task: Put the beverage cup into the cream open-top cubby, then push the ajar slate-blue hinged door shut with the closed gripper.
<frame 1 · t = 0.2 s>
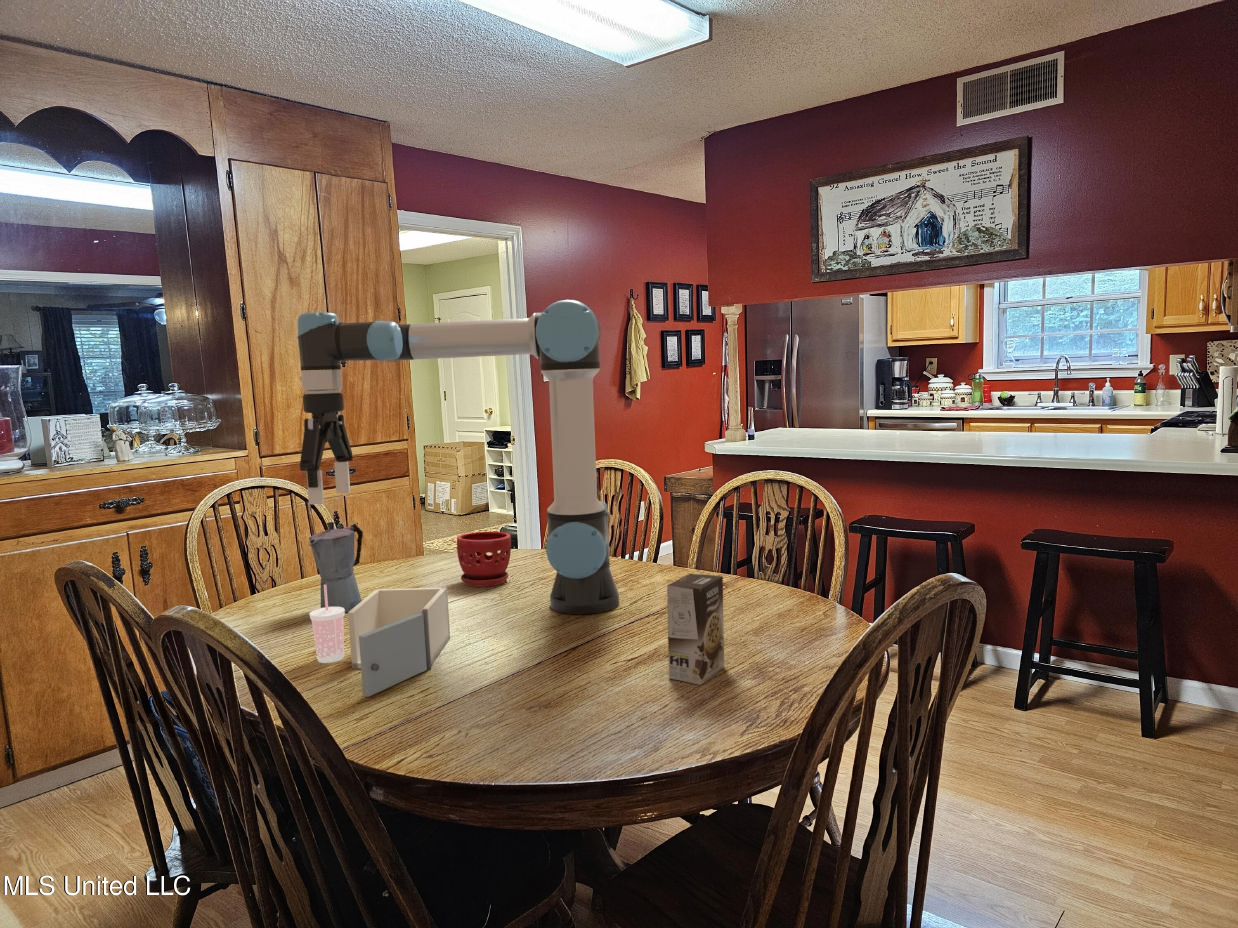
hand: (330, 498, 161), 27 cm above the table, fingers open, 13 cm apart
door: (395, 653, 134), point 5 cm above the table, hinge at 60.0°
plant pot: (486, 583, 198), on the table
coffee box: (697, 674, 135), on the table
cubby: (403, 652, 150), on the table
beverage cup: (330, 659, 148), on the table
moka pot: (342, 608, 180), on the table
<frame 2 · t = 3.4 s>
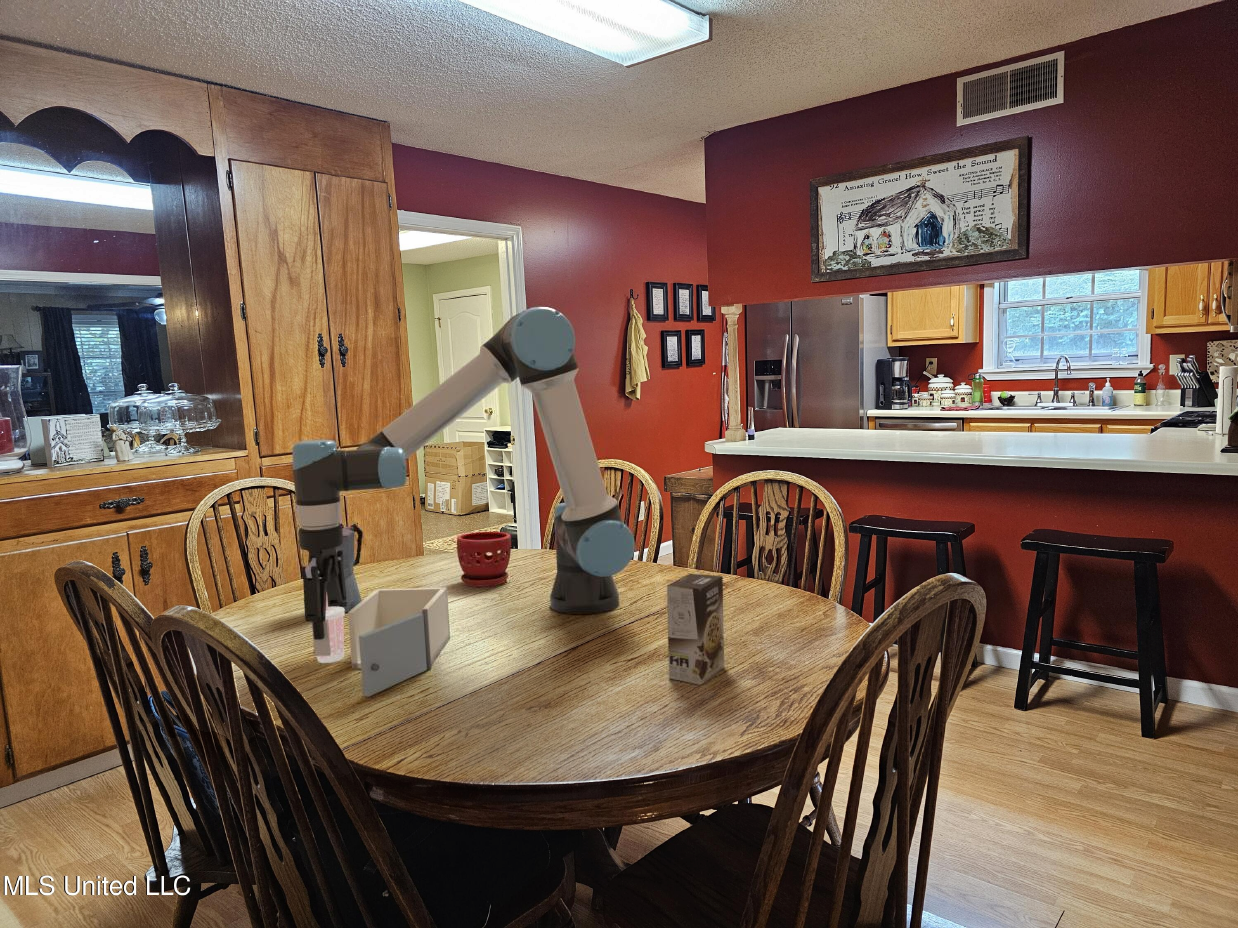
hand: (330, 648, 148), 2 cm above the table, fingers closed on beverage cup, 6 cm apart
beverage cup: (330, 659, 148), on the table, touching gripper
everything else where it was.
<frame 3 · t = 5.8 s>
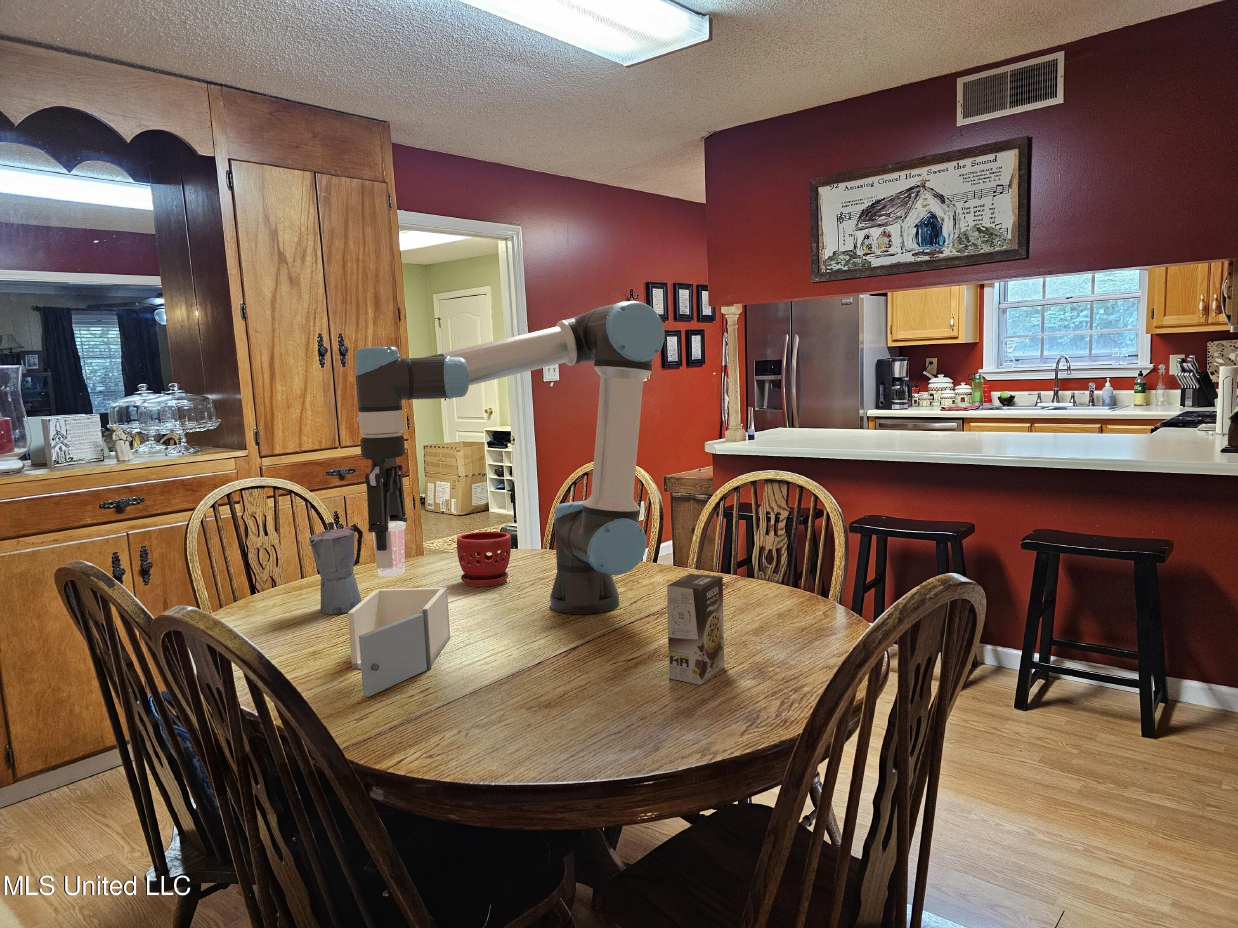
hand: (390, 562, 144), 18 cm above the table, fingers closed on beverage cup, 6 cm apart
beverage cup: (391, 574, 145), point 16 cm above the table, touching gripper
everything else where it was.
when the fingers open (4 cm above the table, at t = 8.5 s): beverage cup drops 1 cm, resting on cubby.
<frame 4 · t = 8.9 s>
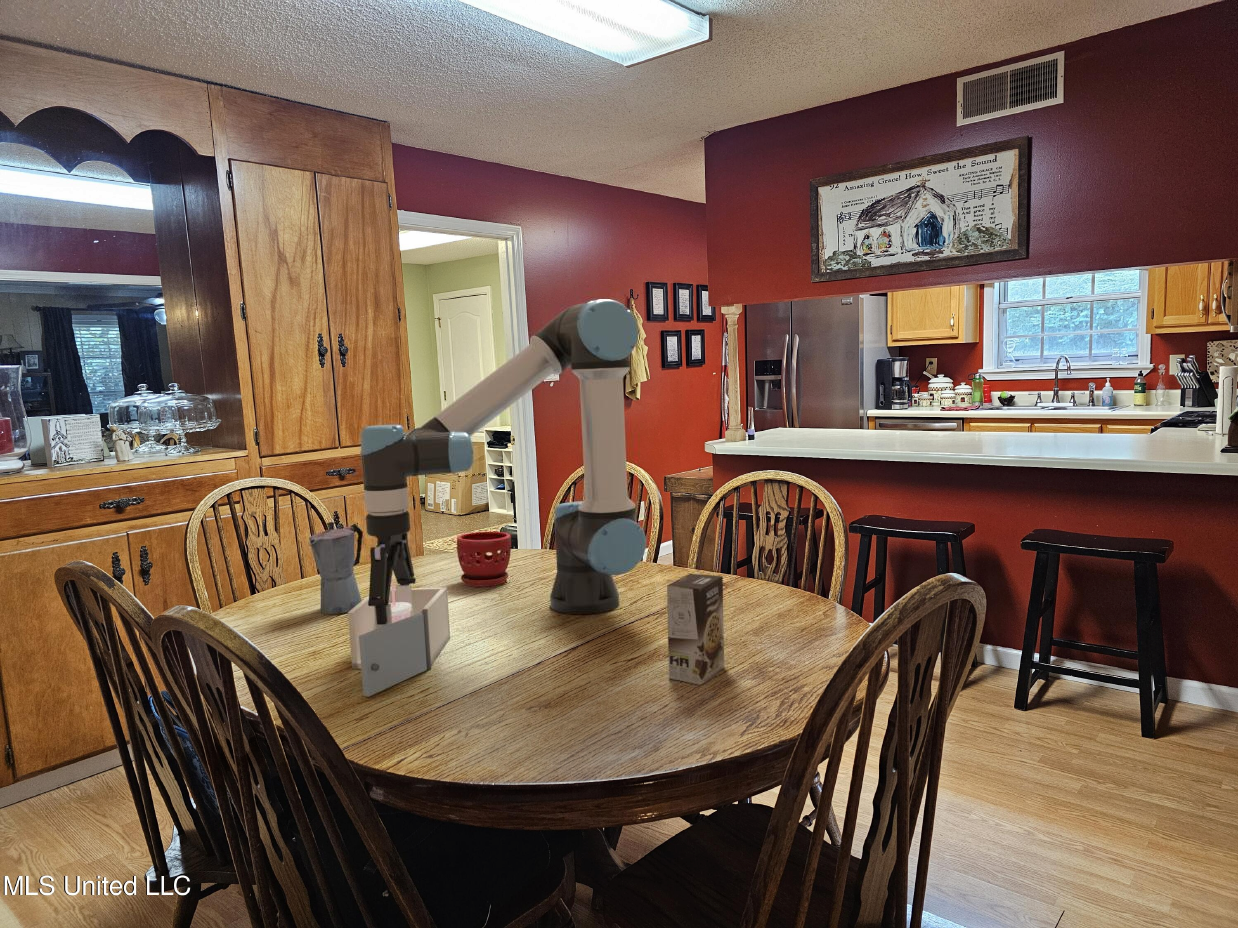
hand: (395, 629, 146), 6 cm above the table, fingers open, 11 cm apart
beverage cup: (397, 655, 146), point 1 cm above the table, touching cubby
everything else where it was.
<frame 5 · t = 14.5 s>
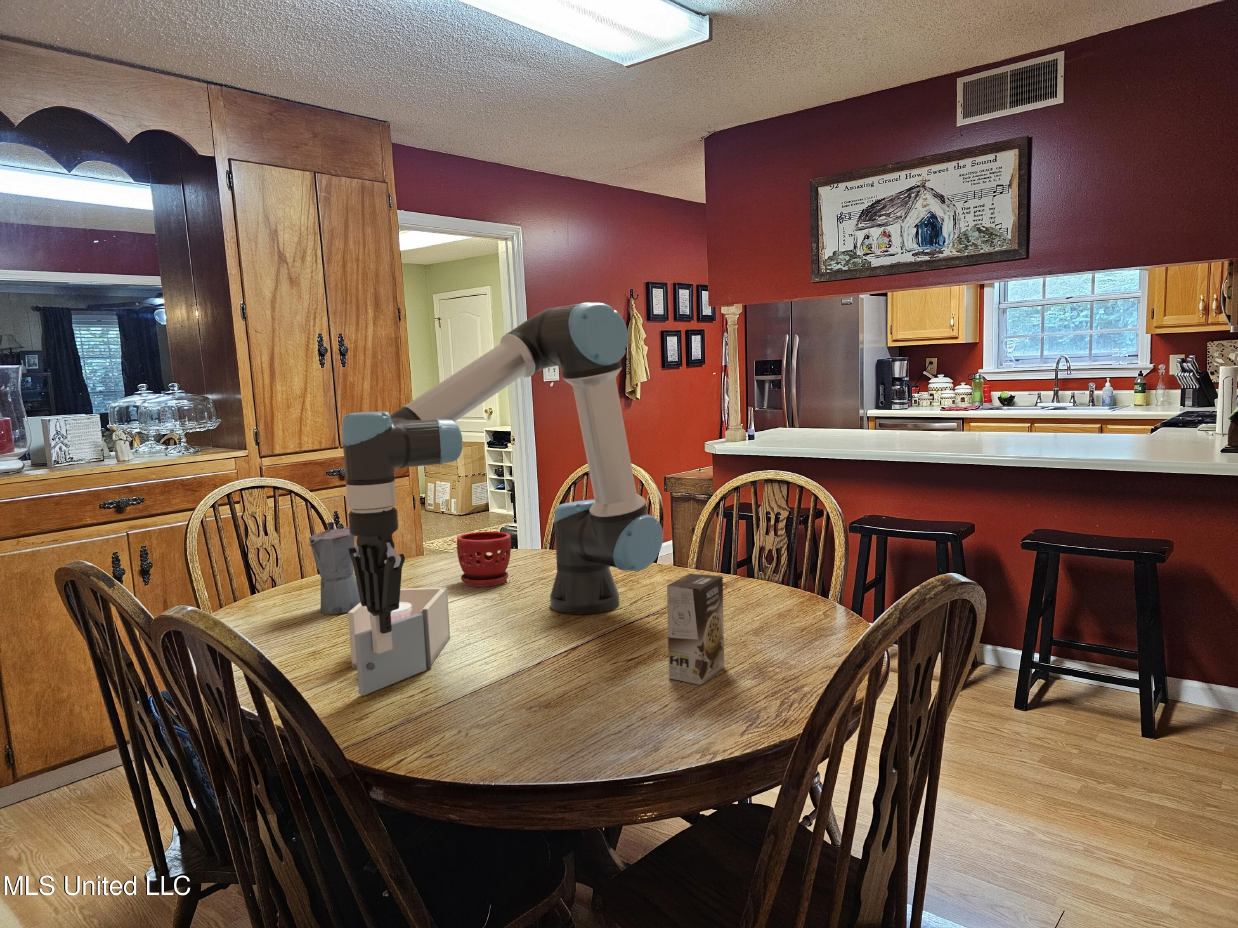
hand: (382, 650, 131), 7 cm above the table, fingers closed
door: (392, 653, 135), point 5 cm above the table, hinge at 55.4°
everything else where it was.
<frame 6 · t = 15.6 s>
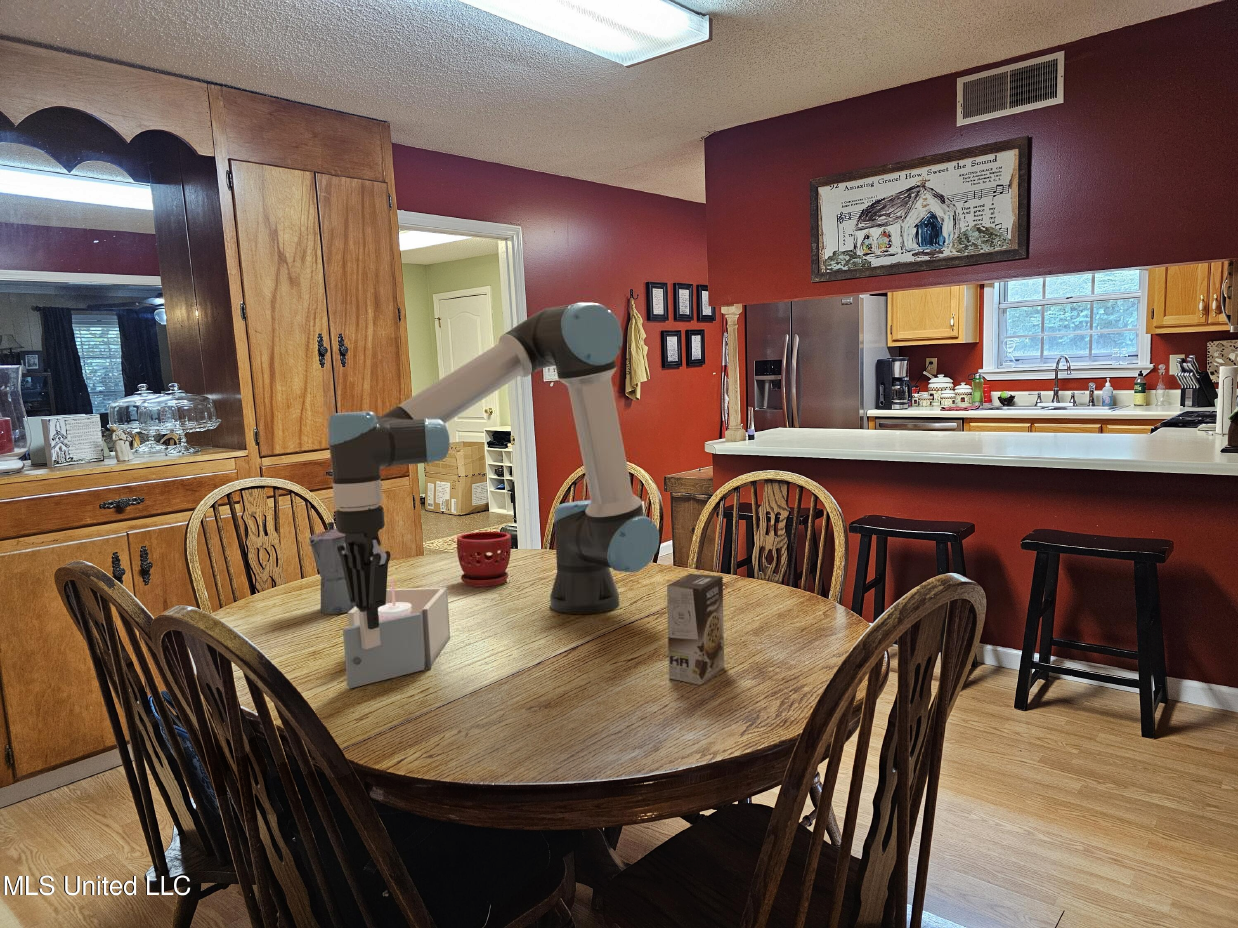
hand: (371, 646, 133), 7 cm above the table, fingers closed
door: (385, 649, 136), point 5 cm above the table, hinge at 36.5°, touching gripper
everything else where it was.
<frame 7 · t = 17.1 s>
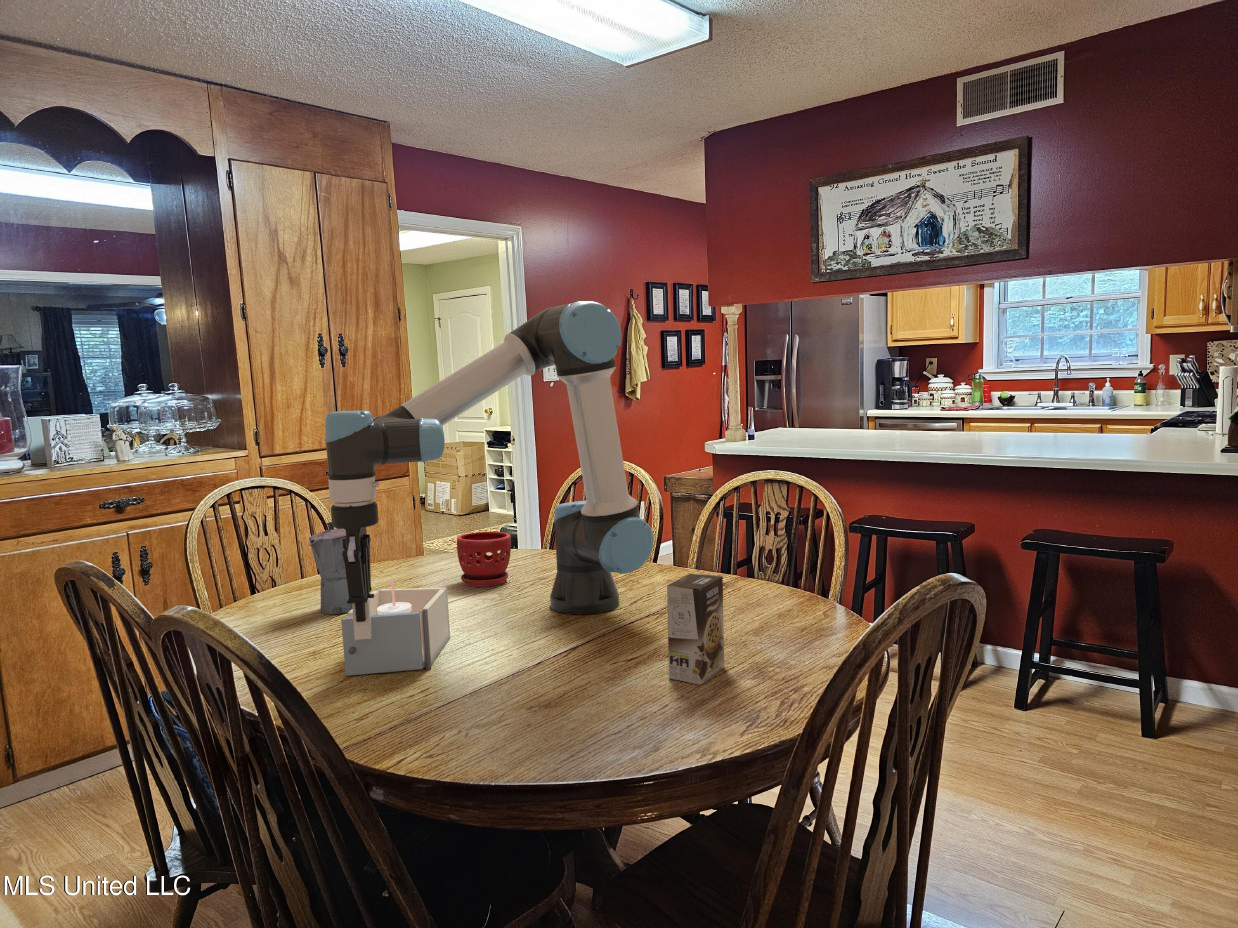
hand: (363, 637, 138), 7 cm above the table, fingers closed
door: (382, 643, 139), point 5 cm above the table, hinge at 10.3°, touching gripper
everything else where it was.
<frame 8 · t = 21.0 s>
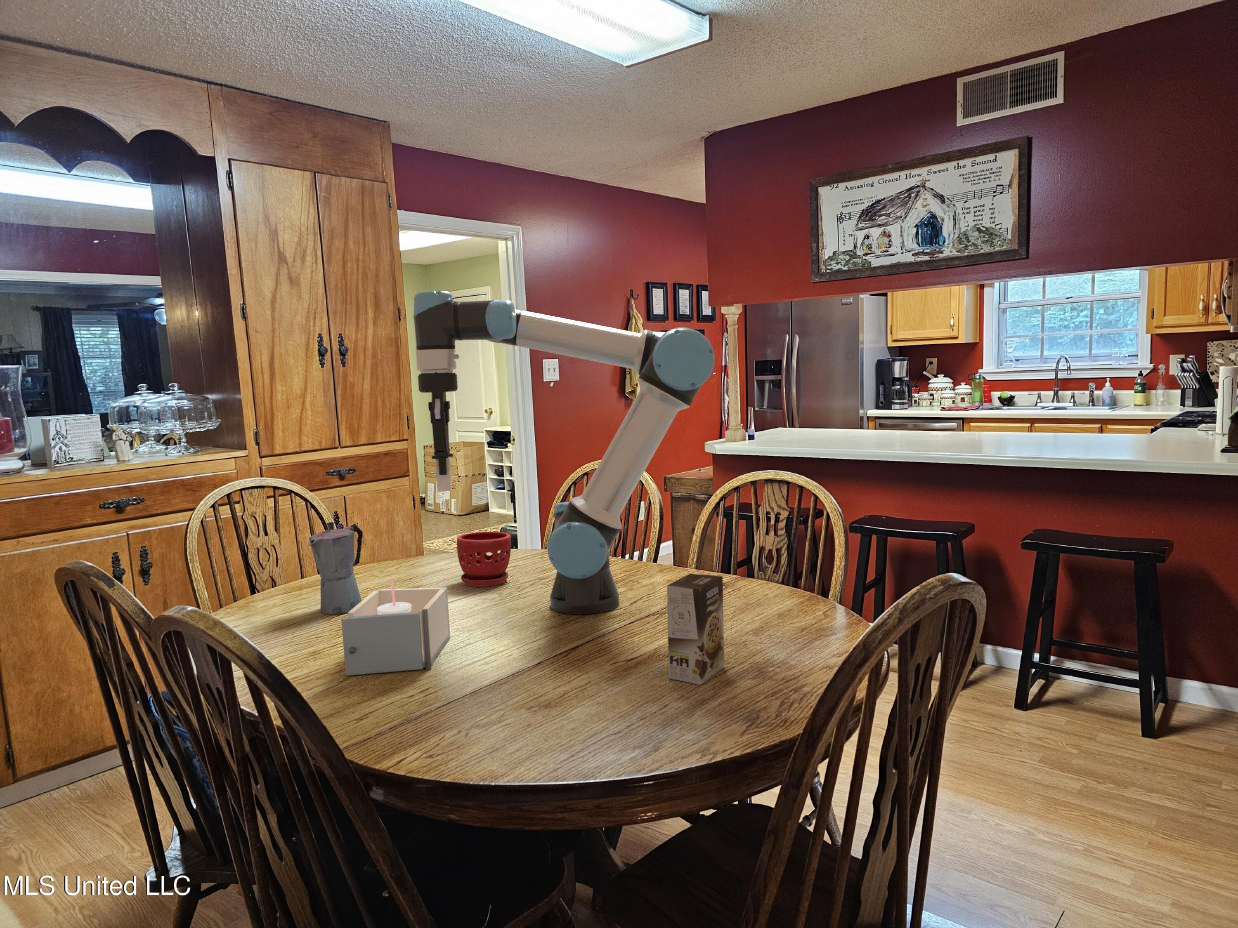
hand: (444, 490, 160), 28 cm above the table, fingers closed
door: (382, 643, 139), point 5 cm above the table, hinge at 9.8°
everything else where it was.
at the end: door at +10° (first picture: +60°); beverage cup inside the target area (3.4 cm from its centre), point 0.8 cm above the table; beverage cup tilted 0° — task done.
